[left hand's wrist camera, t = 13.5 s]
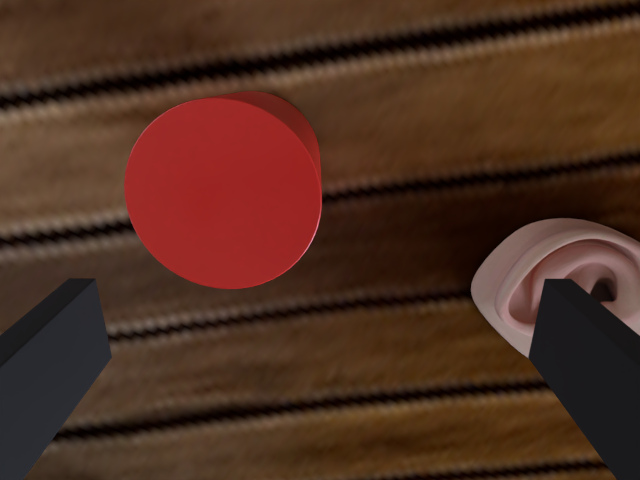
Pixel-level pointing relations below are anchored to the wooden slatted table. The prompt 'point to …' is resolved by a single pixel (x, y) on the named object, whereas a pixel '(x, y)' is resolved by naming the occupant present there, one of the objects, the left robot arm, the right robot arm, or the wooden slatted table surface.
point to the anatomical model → (557, 274)
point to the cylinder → (226, 188)
